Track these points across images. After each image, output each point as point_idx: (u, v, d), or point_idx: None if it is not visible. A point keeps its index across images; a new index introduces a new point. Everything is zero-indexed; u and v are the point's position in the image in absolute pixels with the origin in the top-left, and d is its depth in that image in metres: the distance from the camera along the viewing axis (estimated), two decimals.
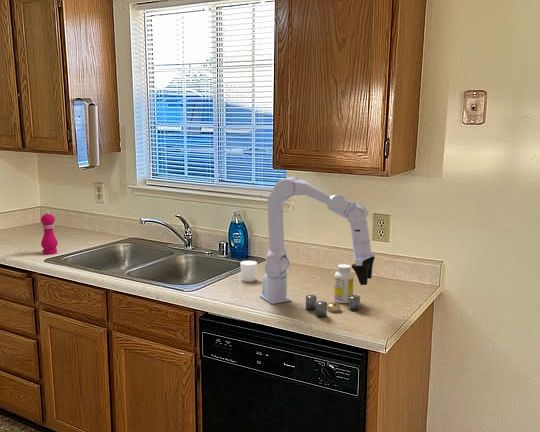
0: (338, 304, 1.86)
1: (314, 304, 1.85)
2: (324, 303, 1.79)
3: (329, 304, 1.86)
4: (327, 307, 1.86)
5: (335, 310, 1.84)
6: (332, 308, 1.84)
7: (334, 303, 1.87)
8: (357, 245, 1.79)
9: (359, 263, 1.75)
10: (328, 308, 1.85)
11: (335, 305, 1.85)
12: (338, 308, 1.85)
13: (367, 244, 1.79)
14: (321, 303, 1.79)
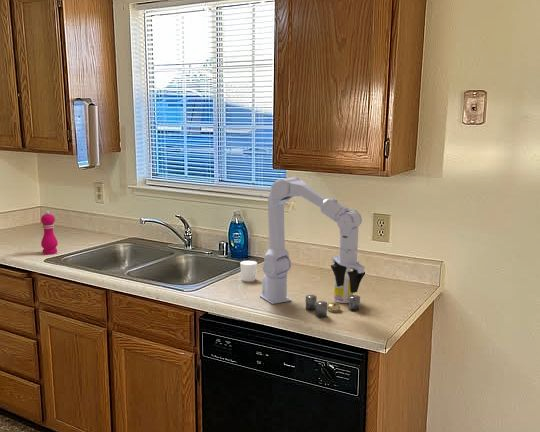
0: (338, 304, 1.86)
1: (314, 304, 1.85)
2: (324, 303, 1.79)
3: (329, 304, 1.86)
4: (327, 307, 1.86)
5: (335, 310, 1.84)
6: (332, 308, 1.84)
7: (334, 303, 1.87)
8: (351, 252, 1.74)
9: (362, 270, 1.71)
10: (328, 308, 1.85)
11: (335, 305, 1.85)
12: (338, 308, 1.85)
13: None
14: (321, 303, 1.79)
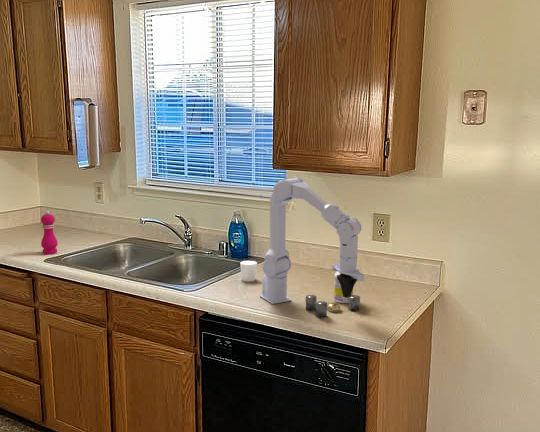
0: (338, 304, 1.86)
1: (314, 304, 1.85)
2: (324, 303, 1.79)
3: (329, 304, 1.86)
4: (327, 307, 1.86)
5: (335, 310, 1.84)
6: (332, 308, 1.84)
7: (334, 303, 1.87)
8: (351, 260, 1.74)
9: (362, 278, 1.72)
10: (328, 308, 1.85)
11: (335, 305, 1.85)
12: (338, 308, 1.85)
13: None
14: (321, 303, 1.79)
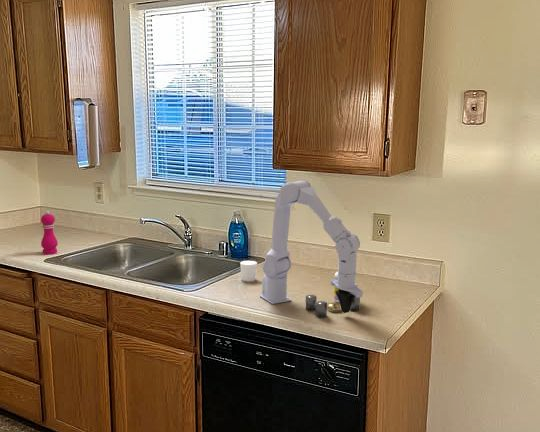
0: (338, 304, 1.86)
1: (314, 304, 1.85)
2: (324, 303, 1.79)
3: (329, 304, 1.86)
4: (327, 307, 1.86)
5: (335, 310, 1.84)
6: (332, 308, 1.84)
7: (334, 303, 1.87)
8: (350, 276, 1.75)
9: (360, 295, 1.73)
10: (328, 308, 1.85)
11: (335, 305, 1.85)
12: (338, 308, 1.85)
13: (355, 275, 1.78)
14: (321, 303, 1.79)
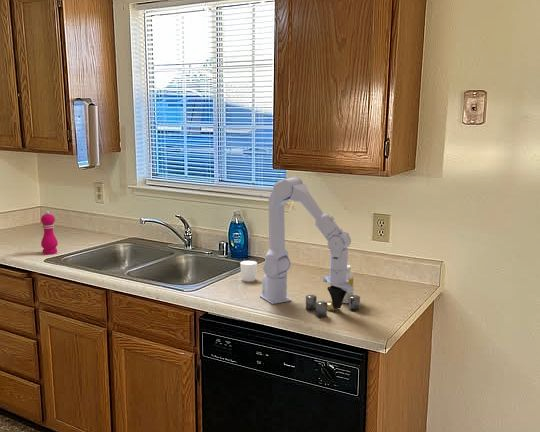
0: None
1: (314, 304, 1.85)
2: (324, 303, 1.79)
3: (327, 302, 1.87)
4: None
5: (333, 308, 1.85)
6: (330, 306, 1.85)
7: None
8: (341, 272, 1.79)
9: (351, 290, 1.77)
10: None
11: None
12: None
13: None
14: (321, 303, 1.79)
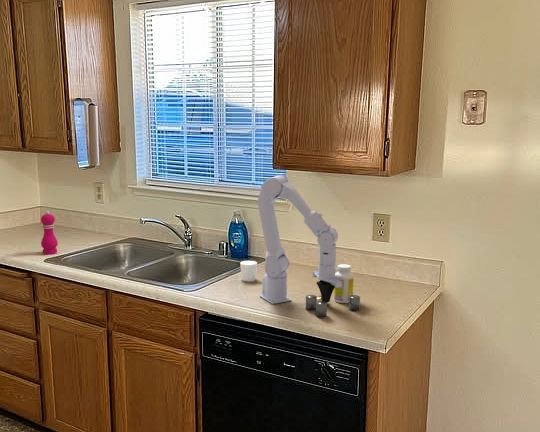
0: None
1: (314, 304, 1.85)
2: (324, 303, 1.79)
3: (317, 297, 1.93)
4: None
5: None
6: None
7: None
8: (330, 267, 1.85)
9: (339, 285, 1.82)
10: (316, 301, 1.92)
11: None
12: None
13: None
14: (321, 303, 1.79)
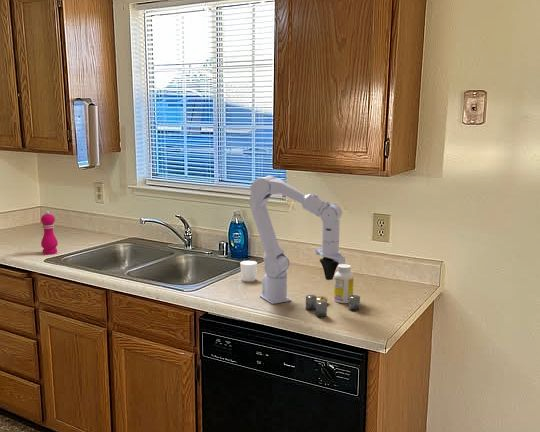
0: (325, 297, 1.93)
1: (314, 304, 1.85)
2: (324, 303, 1.79)
3: (317, 297, 1.93)
4: None
5: None
6: None
7: (322, 296, 1.94)
8: (333, 244, 1.82)
9: (343, 261, 1.80)
10: (316, 301, 1.92)
11: (322, 298, 1.92)
12: (325, 301, 1.91)
13: (338, 243, 1.84)
14: (321, 303, 1.79)
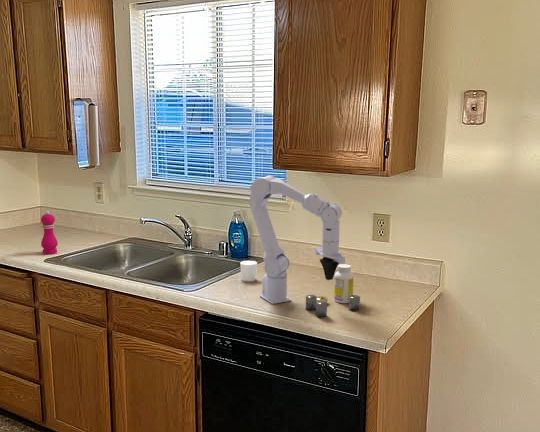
0: (325, 297, 1.93)
1: (314, 304, 1.85)
2: (324, 303, 1.79)
3: (317, 297, 1.93)
4: None
5: None
6: None
7: (322, 296, 1.94)
8: (333, 244, 1.82)
9: (343, 261, 1.80)
10: (316, 301, 1.92)
11: (322, 298, 1.92)
12: (325, 301, 1.91)
13: (338, 243, 1.84)
14: (321, 303, 1.79)
